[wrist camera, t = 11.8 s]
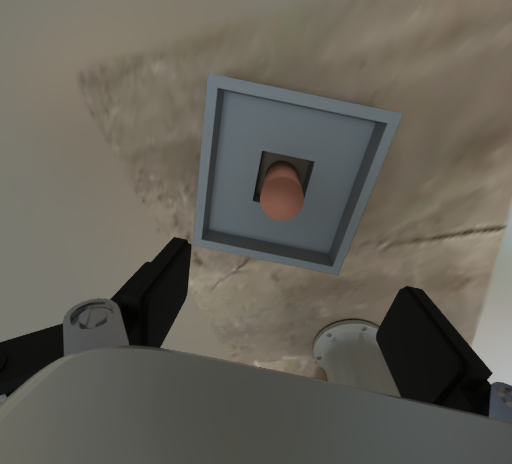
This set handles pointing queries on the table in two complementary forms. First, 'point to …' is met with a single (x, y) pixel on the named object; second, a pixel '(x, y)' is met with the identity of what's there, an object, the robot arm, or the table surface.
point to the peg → (281, 191)
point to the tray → (294, 145)
